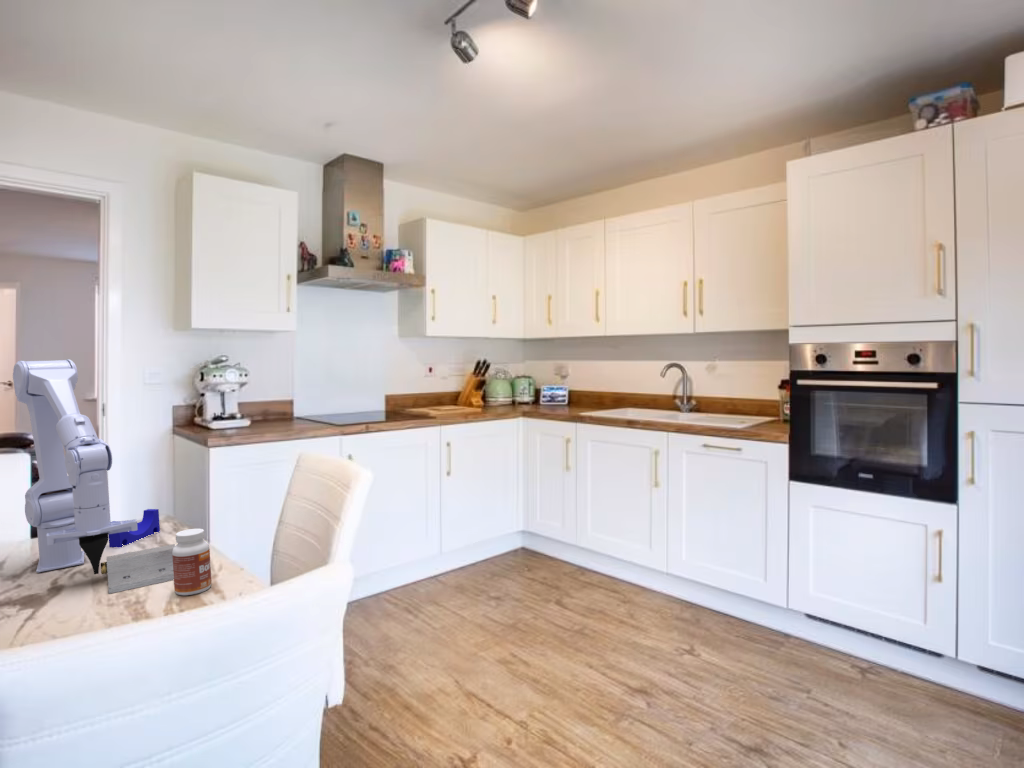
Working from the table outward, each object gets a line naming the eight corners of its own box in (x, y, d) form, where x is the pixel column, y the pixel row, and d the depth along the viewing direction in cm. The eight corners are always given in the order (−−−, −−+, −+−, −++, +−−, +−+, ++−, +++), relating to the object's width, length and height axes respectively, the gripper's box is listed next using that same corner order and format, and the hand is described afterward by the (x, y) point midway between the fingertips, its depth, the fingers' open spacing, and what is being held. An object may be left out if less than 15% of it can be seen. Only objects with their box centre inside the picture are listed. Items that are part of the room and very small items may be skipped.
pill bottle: (206, 594, 108) (203, 535, 107) (169, 598, 106) (165, 538, 106) (215, 581, 114) (212, 525, 113) (180, 585, 112) (177, 528, 112)
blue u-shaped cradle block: (144, 532, 149) (143, 508, 149) (160, 532, 148) (158, 509, 148) (103, 547, 137) (102, 522, 137) (120, 548, 137) (118, 523, 136)
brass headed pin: (101, 576, 116) (100, 564, 116) (101, 572, 118) (100, 561, 117) (176, 560, 123) (176, 550, 123) (175, 557, 125) (174, 547, 125)
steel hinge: (108, 593, 109) (107, 573, 109) (107, 564, 125) (105, 546, 125) (181, 577, 116) (180, 558, 116) (171, 552, 132) (170, 535, 132)
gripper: (43, 516, 108) (48, 588, 109) (136, 502, 116) (140, 569, 117) (46, 508, 114) (51, 576, 114) (134, 496, 122) (138, 559, 123)
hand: (96, 572), depth 116 cm, fingers closed
